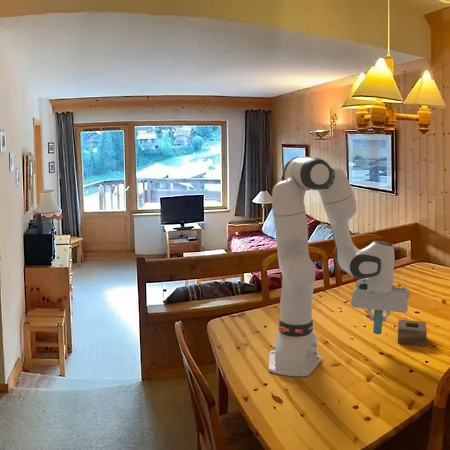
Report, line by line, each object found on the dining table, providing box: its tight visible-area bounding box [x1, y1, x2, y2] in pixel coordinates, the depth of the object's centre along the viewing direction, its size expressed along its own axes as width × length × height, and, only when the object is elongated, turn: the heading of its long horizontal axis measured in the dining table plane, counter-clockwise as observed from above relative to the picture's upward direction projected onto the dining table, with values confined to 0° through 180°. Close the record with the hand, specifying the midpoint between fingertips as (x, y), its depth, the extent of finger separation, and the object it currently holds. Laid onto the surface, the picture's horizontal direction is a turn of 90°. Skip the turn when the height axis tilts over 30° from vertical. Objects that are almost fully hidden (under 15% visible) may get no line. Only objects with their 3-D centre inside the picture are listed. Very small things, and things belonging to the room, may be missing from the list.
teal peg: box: [372, 309, 384, 335], centre depth 197 cm, size 3×3×10 cm
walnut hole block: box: [397, 319, 428, 347], centre depth 204 cm, size 10×10×6 cm
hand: (378, 320), depth 197 cm, fingers closed on teal peg, 3 cm apart
